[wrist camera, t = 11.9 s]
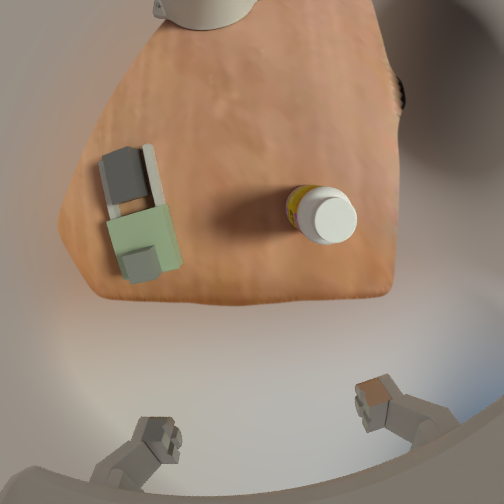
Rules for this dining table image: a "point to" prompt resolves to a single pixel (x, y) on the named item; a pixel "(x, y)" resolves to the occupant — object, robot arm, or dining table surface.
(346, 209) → the supplement bottle
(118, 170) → the grey rectangular block
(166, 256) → the two-prong power plug
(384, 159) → the dining table surface
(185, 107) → the dining table surface
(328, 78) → the dining table surface
